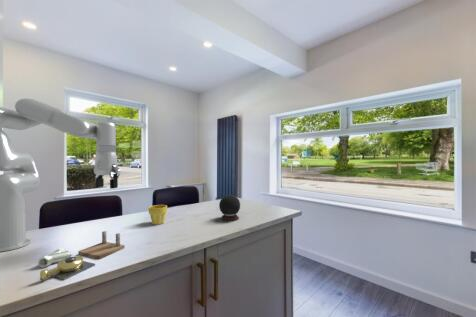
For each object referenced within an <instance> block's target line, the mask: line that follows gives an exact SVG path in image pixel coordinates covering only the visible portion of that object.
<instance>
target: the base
mask: <svg viewBox="0 0 476 317" xmlns="http://www.w3.org/2000/svg"><path fill="white" fill-rule="evenodd" d="M95 266H96V263H93V262H90V261H84V260H83V266H82V267H80V268H79V269H77V270H74V271H70V272H65V273H60V272H59V273H57V274H54V275H52V276H51V277H52V278H56V279H58V280H62V281H65V280H67V279H70V278H71V277H73V276H77V275H78V274H80V273H82V272H84V271H86V270H88V269H90V268H92V267H95Z"/></svg>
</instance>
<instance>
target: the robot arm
mask: <svg viewBox="0 0 476 317" xmlns="http://www.w3.org/2000/svg"><path fill="white" fill-rule="evenodd" d="M14 109H15V110H13V109H9V108H5V107H1V106H0V172H10V173H3V174H0V253H1V252H8V251H12V250H18V249H20V248H24V247H25V246H26V247H27V246H28V245H29V244H31V239H30V238H27V237H26V236H27V229H26V228H27V224H26V223H27V220H26V219H27V218H26V217H27V215H26V213H27V212H26V210H27V208H26V201H25V198H24V197H23V194H25V193H31V192H34V191H35V190H37V189H39V186H40V185H41V178H40V175H39V174H40V173H39V170H38V168H37V165H36V162H35V159H34V158H33V155H32V154H31V153H29V152H28V151H26V150H23V149H15V148H14V147H13V145H12V141H11V138H10V137H9V135H8V134H7V133H6V132H5V131H4V130H3V129H9V130H14V131H15V130H16V131H17V130H18V131H24V130H27V129H28V130H29V129H30V128H34V127H36V126H40V125H41V124H43V125H45V126H49V127H50V128H51V129H55V130H57V131H60V132H62V133H65V134H67V135H71V136H73V137H76V138H82V139H86V140H87V139H88V140H95V141H96V142H95V143H96V152H95V157H94V168H93V175H94V179H95V188H103V187H104V184H105V183H104V182H105V180H104V176H109V178H110V179H109V188H110V189H117V188H118V186H119V185H118V182H119V181H118V180H119V176H120V175H121V169H120V167H118V157H117V144H116V143H117V140H116V138H117V135H116V134H117V133H116V132H117V128H116V124H115V123H113V122H111V121H110V122H109V121H99V122H97V123H95V122H91V121H88V120H86V119H80V118H78V117H76V116H72V115H70V114H67V113H65V112H64V110H62V109H59V108H58V107H54V106H51V105H50V104H48V103H45V102H42V101H38V100H35V99H33V98H21V99H18V101H16V102H15V105H14ZM11 171H12V172H11Z"/></svg>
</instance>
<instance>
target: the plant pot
mask: <svg viewBox="0 0 476 317" xmlns="http://www.w3.org/2000/svg"><path fill="white" fill-rule="evenodd" d="M167 212H168V205H166V204H156V205H150V206H148V214H149V216H150V220H151V223H152V225H154V226H155V225H157V226H158V225H163V224H164V223H165V221H166V214H167Z"/></svg>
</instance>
